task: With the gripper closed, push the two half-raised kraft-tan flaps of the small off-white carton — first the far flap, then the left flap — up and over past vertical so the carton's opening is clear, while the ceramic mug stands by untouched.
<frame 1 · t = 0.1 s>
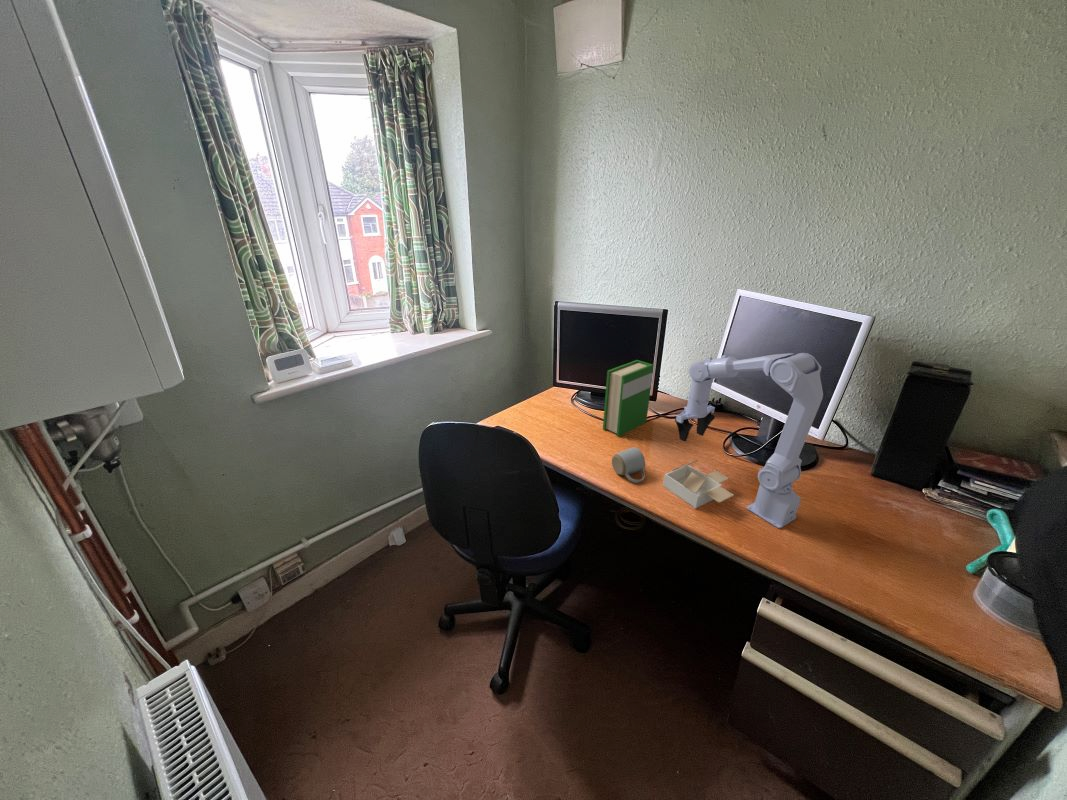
hand: (691, 437, 128), 10 cm above the table, fingers open, 7 cm apart
hardback book: (624, 426, 156), on the table
carton: (690, 491, 119), on the table
far flap: (684, 465, 120), point 6 cm above the table, hinge at 45.0°
ceramic mug: (630, 474, 127), on the table
left flap: (693, 482, 112), point 6 cm above the table, hinge at 45.0°
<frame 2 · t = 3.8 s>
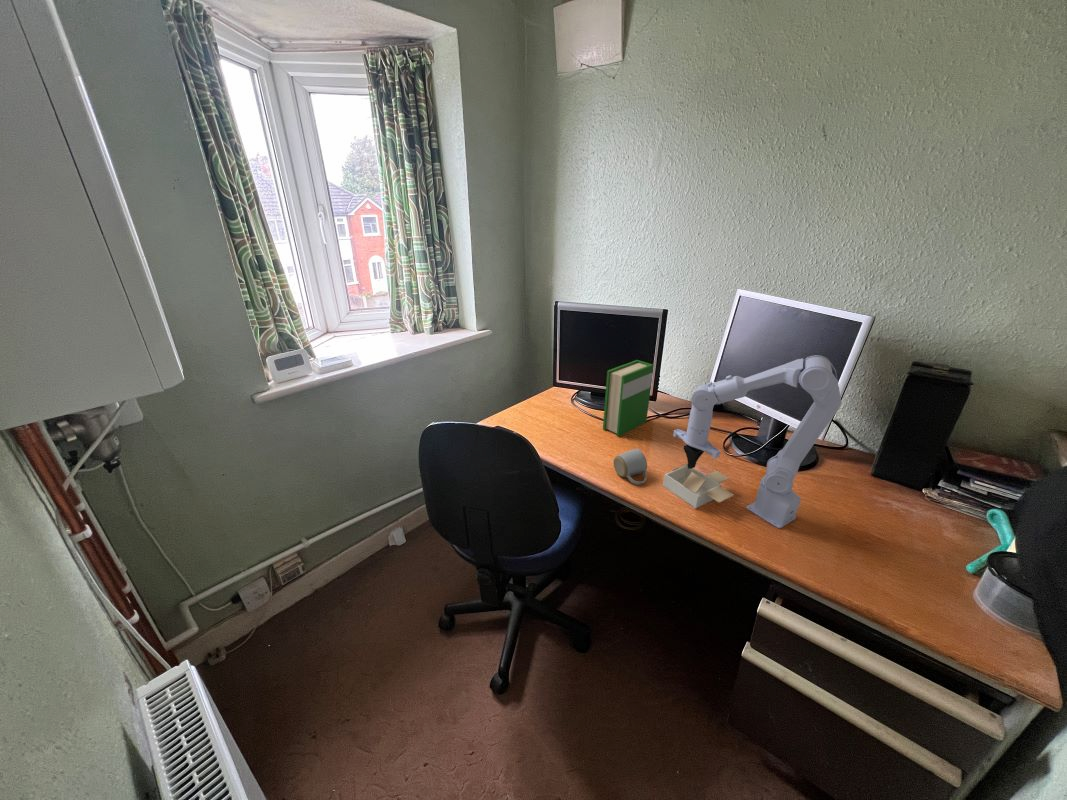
hand: (691, 467, 118), 7 cm above the table, fingers closed, pressing on far flap
far flap: (684, 465, 120), point 6 cm above the table, hinge at 45.6°, touching gripper
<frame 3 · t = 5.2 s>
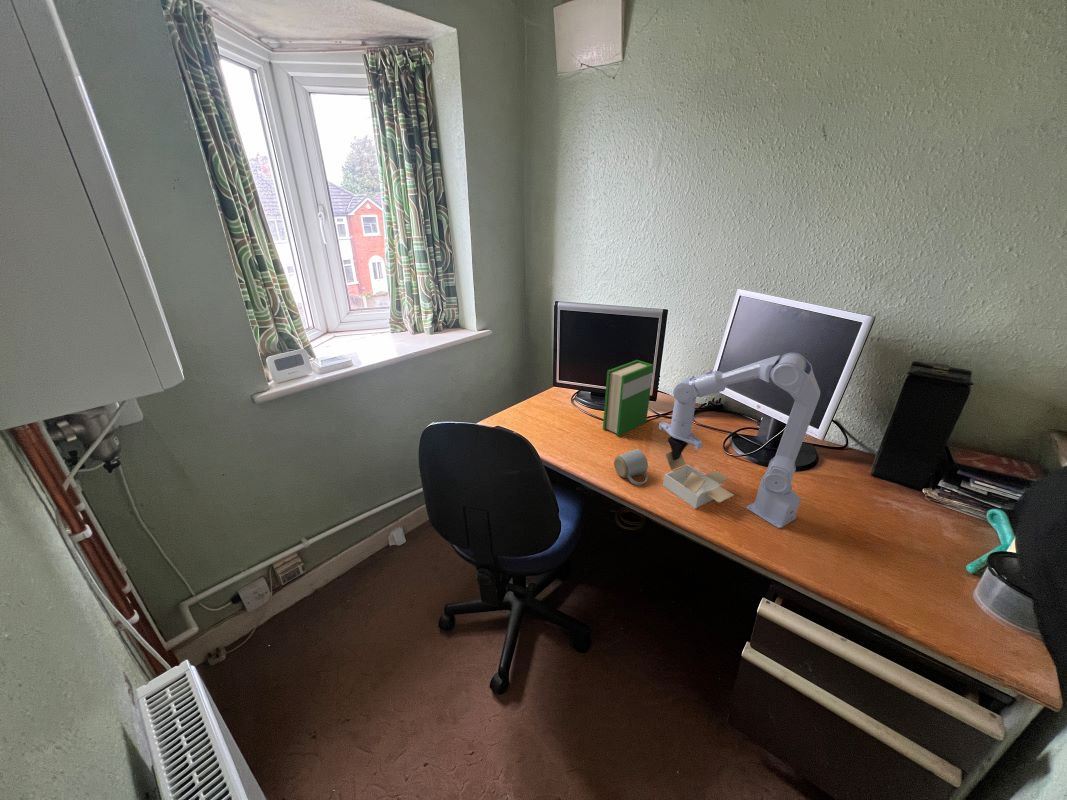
hand: (675, 458, 122), 7 cm above the table, fingers closed, pressing on far flap
far flap: (675, 459, 122), point 7 cm above the table, hinge at 131.0°, touching gripper
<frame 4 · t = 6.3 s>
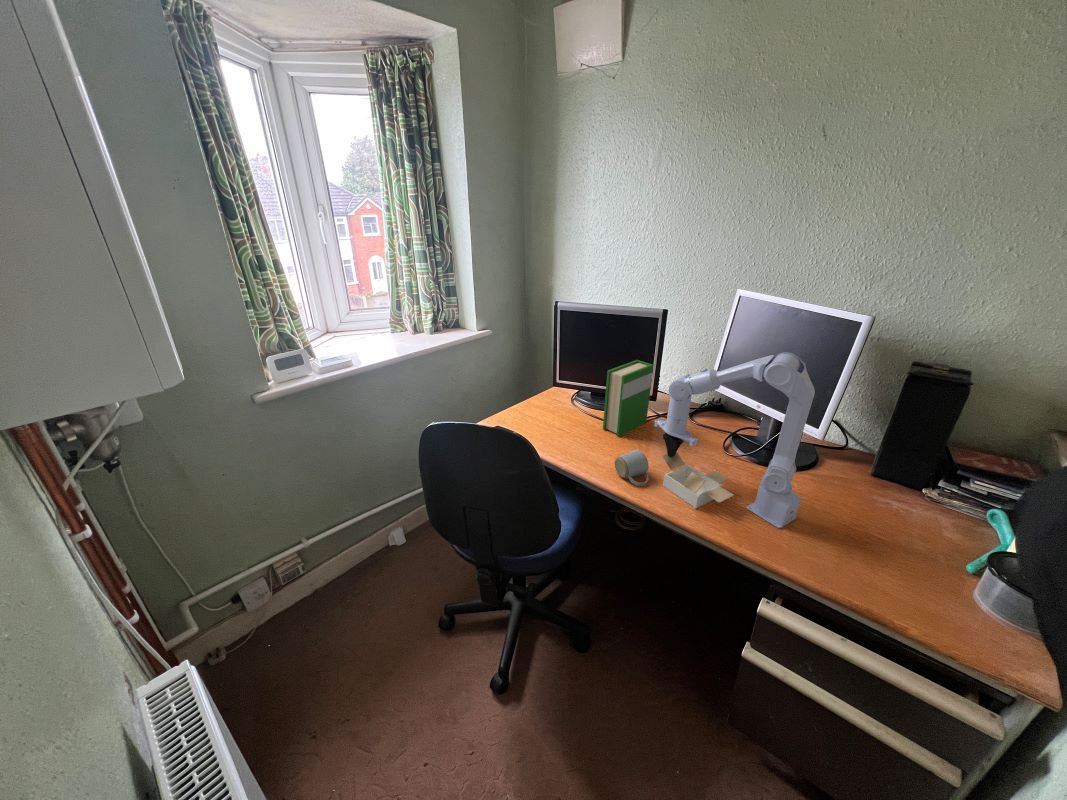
hand: (671, 455, 123), 7 cm above the table, fingers closed
far flap: (673, 460, 123), point 6 cm above the table, hinge at 148.7°, touching gripper
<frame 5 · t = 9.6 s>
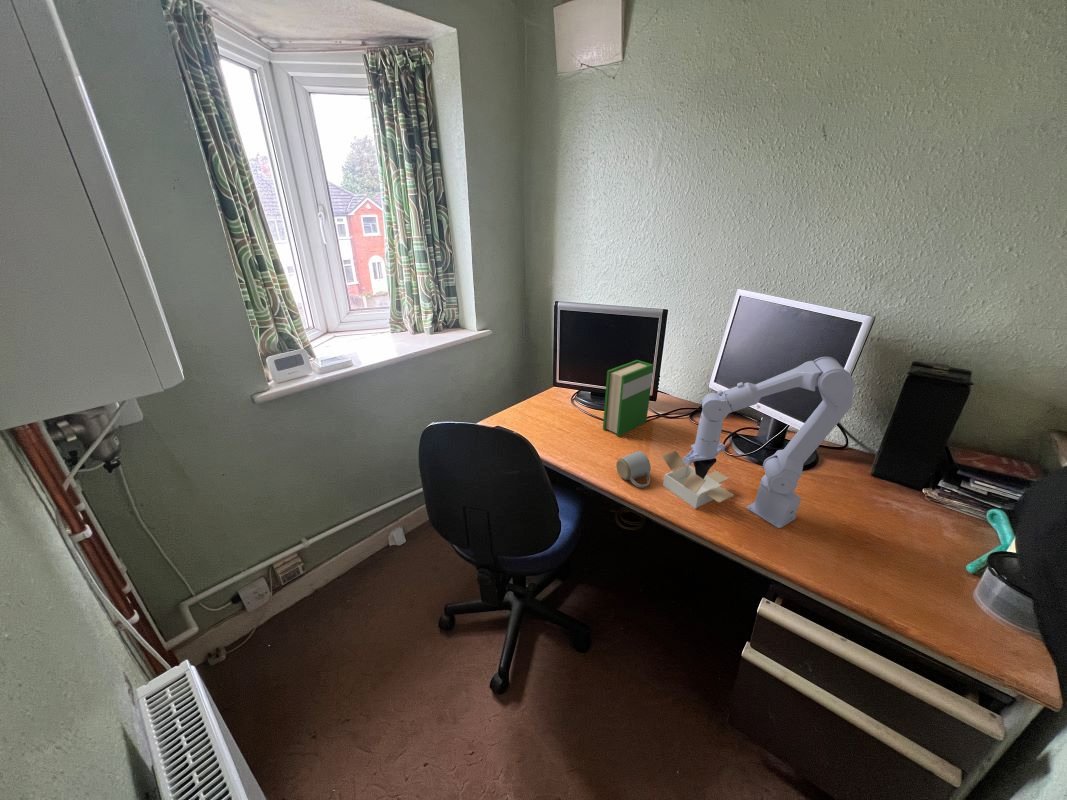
hand: (699, 478, 113), 7 cm above the table, fingers closed, pressing on left flap
far flap: (673, 460, 123), point 6 cm above the table, hinge at 148.8°
left flap: (693, 482, 112), point 6 cm above the table, hinge at 45.3°, touching gripper
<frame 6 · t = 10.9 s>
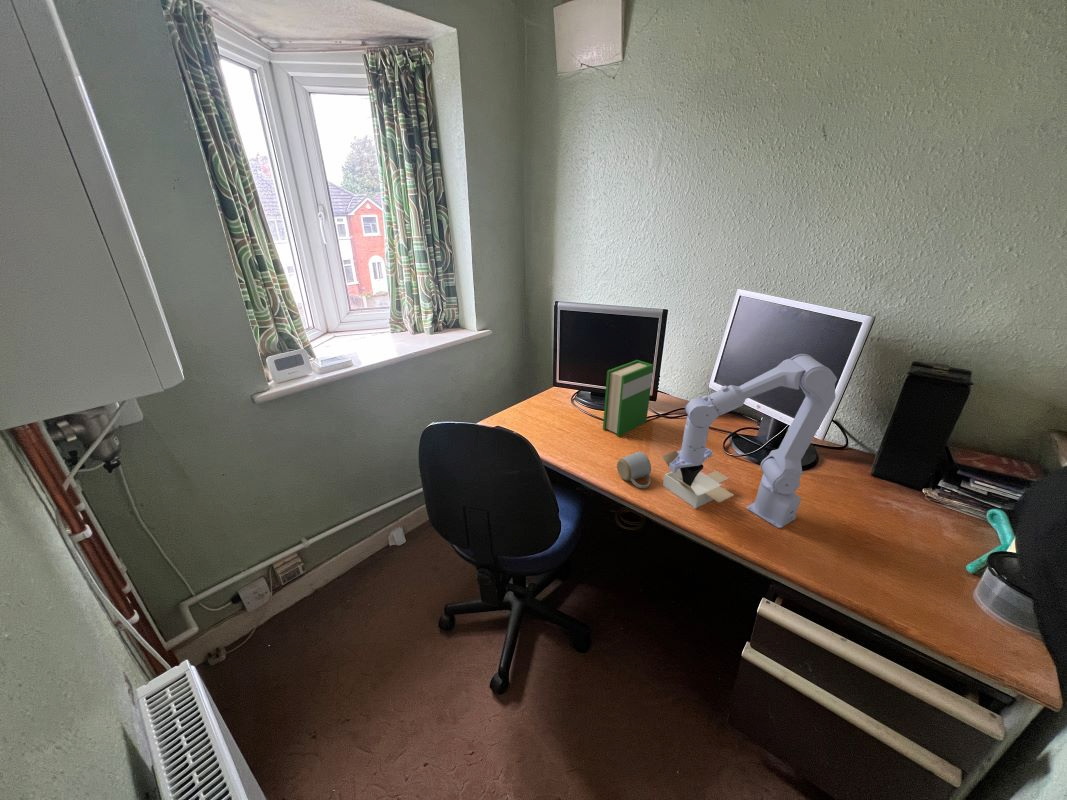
hand: (686, 485, 111), 7 cm above the table, fingers closed, pressing on left flap
left flap: (685, 485, 111), point 6 cm above the table, hinge at 130.9°, touching gripper
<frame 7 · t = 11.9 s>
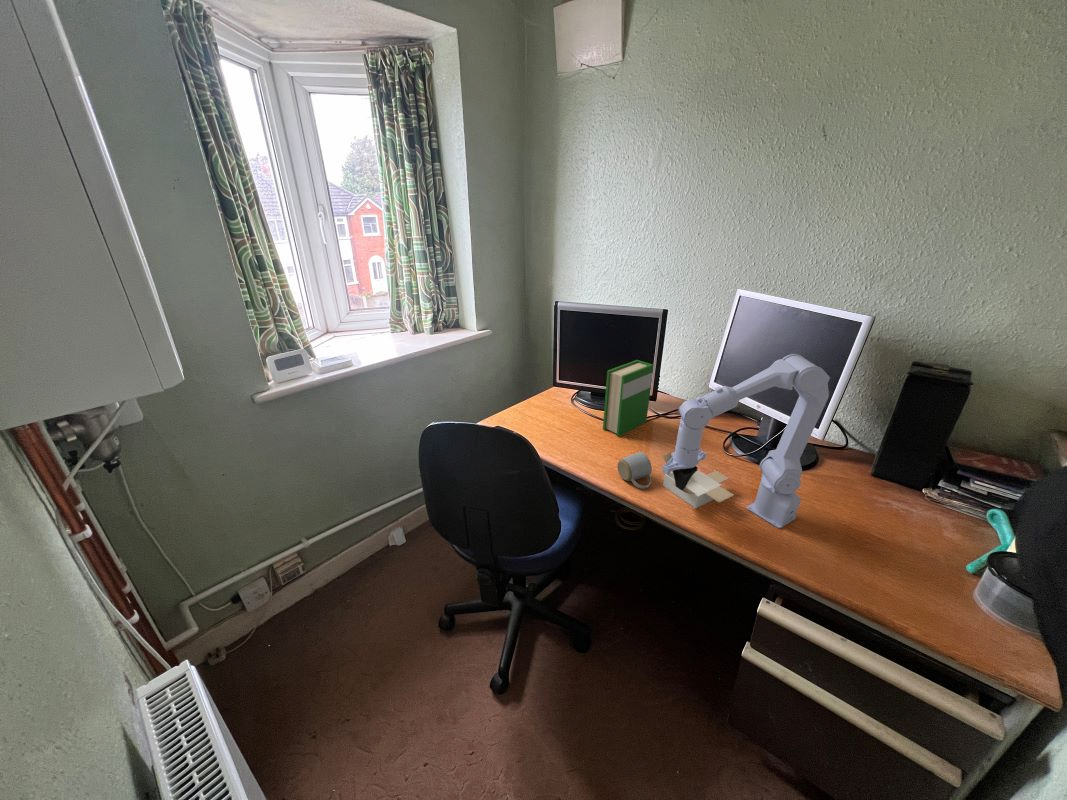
hand: (679, 487, 109), 7 cm above the table, fingers closed
left flap: (683, 488, 111), point 6 cm above the table, hinge at 153.2°, touching gripper
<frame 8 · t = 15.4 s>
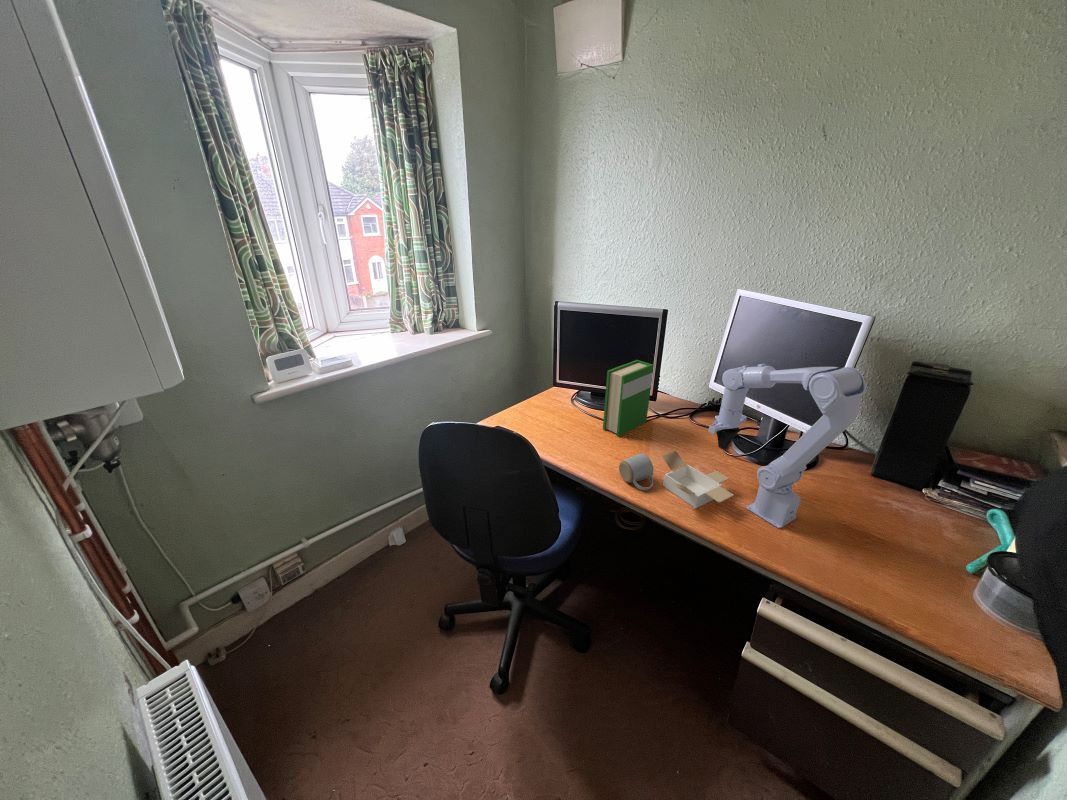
hand: (722, 447, 121), 10 cm above the table, fingers closed
left flap: (683, 488, 111), point 6 cm above the table, hinge at 153.4°
at the end: far flap at +149° (first picture: +45°); left flap at +153° (first picture: +45°) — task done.
